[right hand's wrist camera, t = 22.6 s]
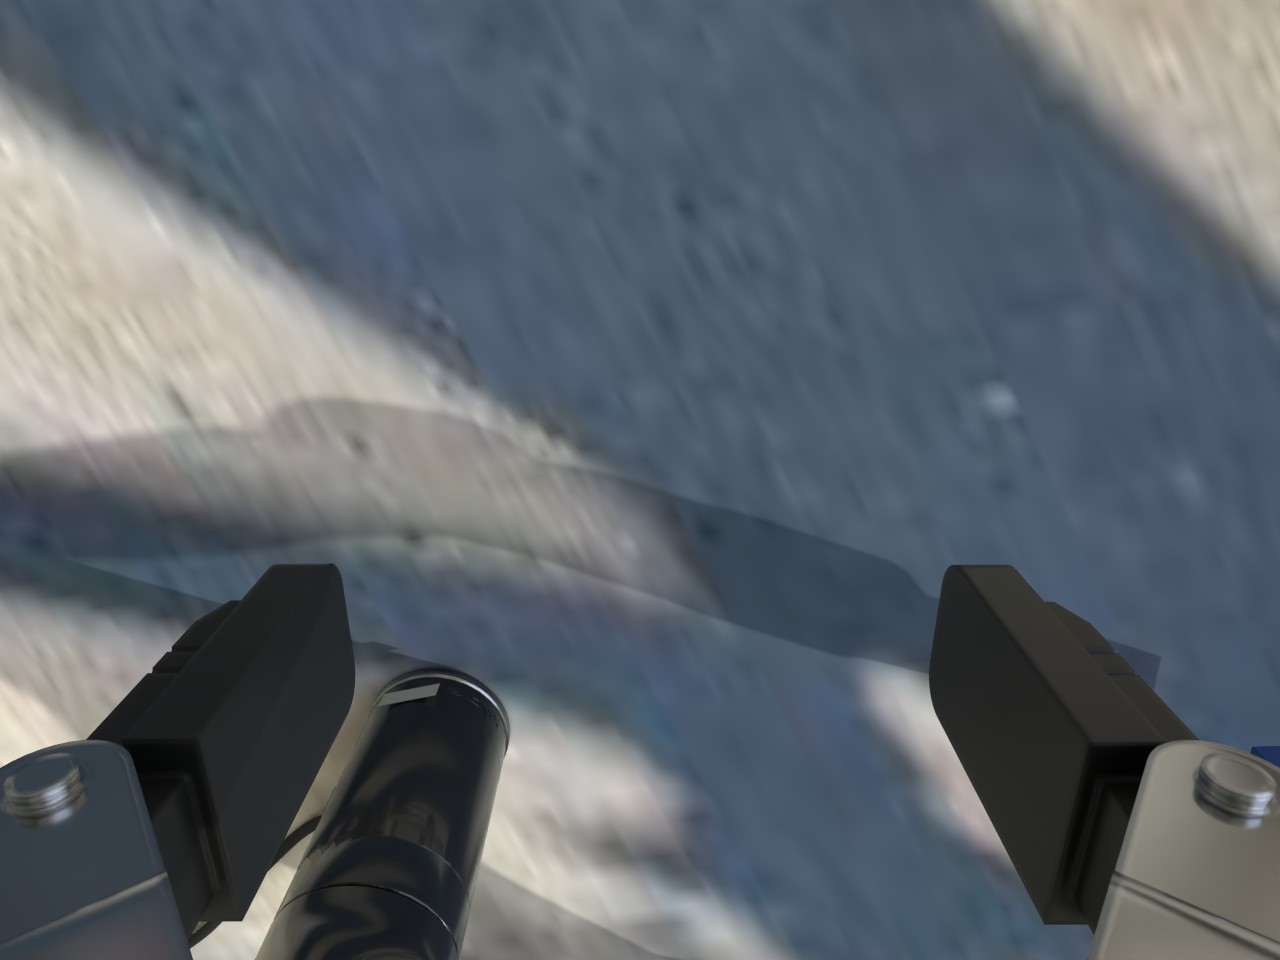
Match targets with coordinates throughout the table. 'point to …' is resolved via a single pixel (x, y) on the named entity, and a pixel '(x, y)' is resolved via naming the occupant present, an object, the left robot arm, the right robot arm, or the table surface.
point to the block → (1268, 754)
